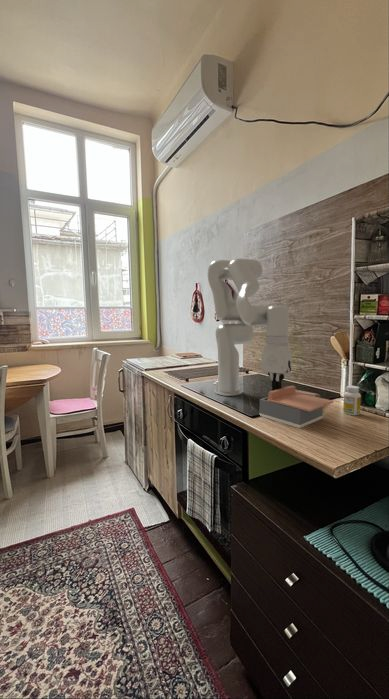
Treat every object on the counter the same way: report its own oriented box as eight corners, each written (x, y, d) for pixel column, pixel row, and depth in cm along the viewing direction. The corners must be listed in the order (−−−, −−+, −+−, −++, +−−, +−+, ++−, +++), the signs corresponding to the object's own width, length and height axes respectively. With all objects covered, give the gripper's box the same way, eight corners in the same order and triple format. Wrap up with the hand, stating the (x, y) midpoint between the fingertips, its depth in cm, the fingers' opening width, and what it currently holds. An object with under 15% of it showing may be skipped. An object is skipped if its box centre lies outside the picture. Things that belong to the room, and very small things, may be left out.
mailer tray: (259, 415, 110) (259, 399, 109) (282, 407, 119) (283, 392, 118) (299, 428, 98) (300, 409, 97) (322, 418, 107) (323, 401, 106)
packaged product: (273, 389, 130) (286, 385, 137) (273, 400, 131) (285, 396, 137) (315, 397, 117) (326, 392, 124) (315, 409, 118) (326, 404, 125)
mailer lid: (267, 400, 106) (267, 391, 106) (291, 393, 116) (291, 385, 115) (310, 411, 94) (310, 401, 94) (333, 402, 103) (333, 393, 103)
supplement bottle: (355, 410, 114) (356, 385, 113) (362, 415, 109) (364, 388, 108) (340, 410, 114) (341, 385, 113) (347, 415, 109) (348, 388, 108)
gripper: (253, 340, 113) (253, 389, 115) (289, 342, 102) (288, 397, 104) (266, 339, 118) (266, 386, 120) (302, 341, 107) (300, 393, 109)
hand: (276, 391), depth 112 cm, fingers closed
